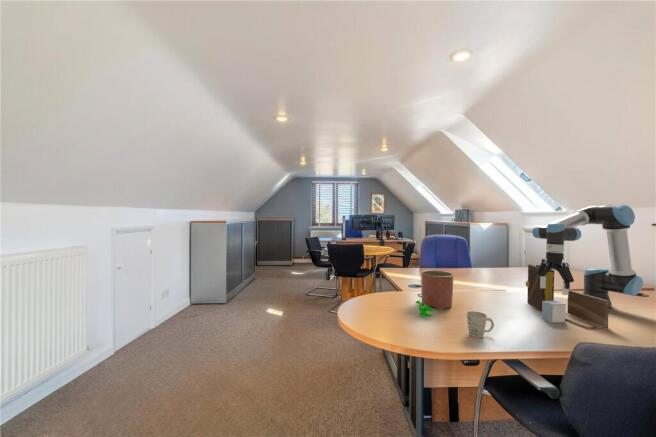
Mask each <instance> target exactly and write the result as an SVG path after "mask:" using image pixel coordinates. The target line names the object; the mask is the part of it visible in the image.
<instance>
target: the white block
mask: <svg viewBox="0 0 656 437" xmlns="http://www.w3.org/2000/svg"><path fill="white" fill-rule="evenodd" d="M566 306H567V305H566V303H563V302H561V301H558V300H554V301H542V312H541V320H543V321H546V323H547V322H548V323H549V324H565V323H566V321H565V313H566Z"/></svg>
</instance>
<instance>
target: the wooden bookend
mask: <svg viewBox="0 0 656 437" xmlns="http://www.w3.org/2000/svg"><path fill="white" fill-rule="evenodd" d="M609 309H610V308H609V301H608V300H604V299H601V298H597V297H593V296H590V295H586V294H583V292H579V291H576V290H572V289H569V294H568V295H567V312H565V322H568V323H571V324H573V325H575V326H578V327H580V328H583V329H586V330H594V329H595V330H597V329H598V330H599V329H608V328H609Z"/></svg>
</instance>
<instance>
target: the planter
mask: <svg viewBox="0 0 656 437" xmlns="http://www.w3.org/2000/svg"><path fill="white" fill-rule="evenodd" d="M454 277H455V276H454V273H452V272H449V271H445V270H444V271H443V270H436V269H435V270H430V269H429V270H422V271H421V272H420V278H421V279H420V281H421V282H420V284H421V305H425V304H426V305H427V306H428V307H431V308H435V309H437V310H442V309H447V308H451V307H452V305H453V294H454V292H453V291H454Z"/></svg>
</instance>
